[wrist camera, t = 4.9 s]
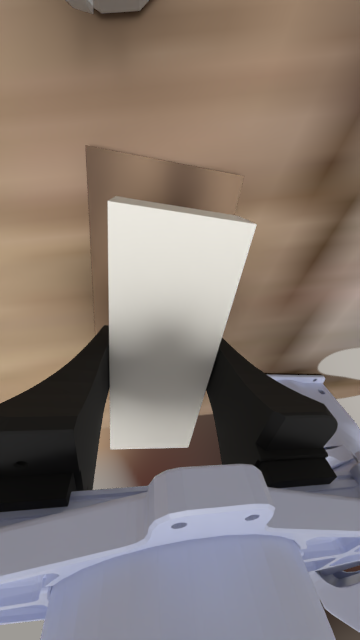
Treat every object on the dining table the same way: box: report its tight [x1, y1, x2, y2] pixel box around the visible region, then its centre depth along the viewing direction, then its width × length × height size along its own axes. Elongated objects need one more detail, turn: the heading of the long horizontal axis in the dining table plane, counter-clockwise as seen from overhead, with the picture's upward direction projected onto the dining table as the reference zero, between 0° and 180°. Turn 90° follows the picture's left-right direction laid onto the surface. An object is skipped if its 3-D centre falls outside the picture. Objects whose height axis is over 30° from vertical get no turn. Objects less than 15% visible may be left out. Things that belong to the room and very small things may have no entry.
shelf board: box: [108, 196, 257, 449], centre depth 12 cm, size 14×5×2 cm, turn 171°
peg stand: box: [85, 145, 244, 336], centre depth 18 cm, size 10×18×5 cm, turn 171°
